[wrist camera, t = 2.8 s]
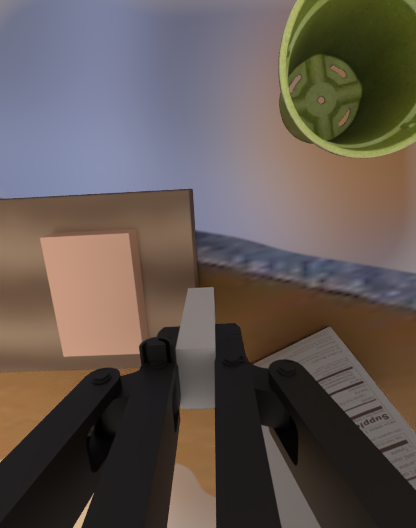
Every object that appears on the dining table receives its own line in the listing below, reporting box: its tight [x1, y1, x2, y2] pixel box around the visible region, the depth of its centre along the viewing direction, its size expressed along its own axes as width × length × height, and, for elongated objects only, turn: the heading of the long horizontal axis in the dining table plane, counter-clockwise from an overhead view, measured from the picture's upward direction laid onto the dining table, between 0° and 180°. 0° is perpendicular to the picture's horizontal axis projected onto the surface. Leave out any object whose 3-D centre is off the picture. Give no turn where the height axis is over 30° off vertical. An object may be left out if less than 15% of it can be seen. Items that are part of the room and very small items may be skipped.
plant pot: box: [279, 0, 416, 158], centre depth 19 cm, size 9×9×9 cm
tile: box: [40, 229, 149, 357], centre depth 23 cm, size 9×6×2 cm, turn 3°
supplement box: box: [253, 327, 416, 528], centre depth 22 cm, size 10×9×17 cm
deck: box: [0, 189, 199, 373], centre depth 25 cm, size 14×18×4 cm
